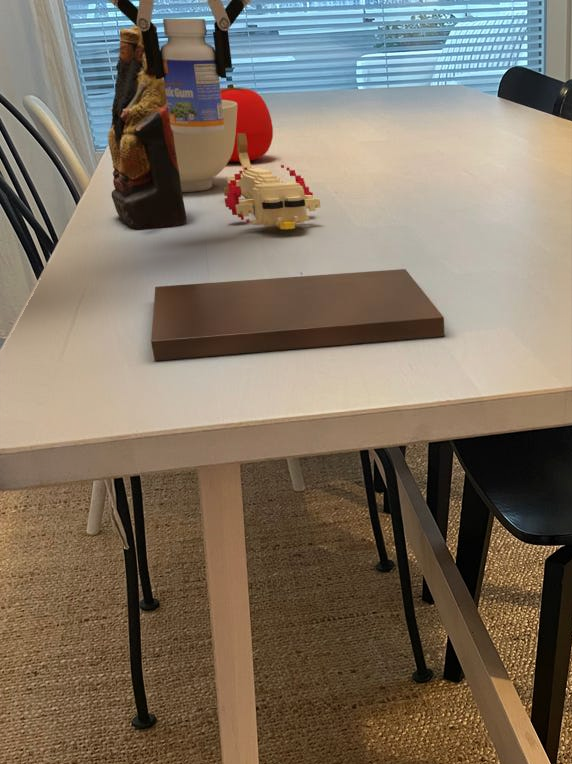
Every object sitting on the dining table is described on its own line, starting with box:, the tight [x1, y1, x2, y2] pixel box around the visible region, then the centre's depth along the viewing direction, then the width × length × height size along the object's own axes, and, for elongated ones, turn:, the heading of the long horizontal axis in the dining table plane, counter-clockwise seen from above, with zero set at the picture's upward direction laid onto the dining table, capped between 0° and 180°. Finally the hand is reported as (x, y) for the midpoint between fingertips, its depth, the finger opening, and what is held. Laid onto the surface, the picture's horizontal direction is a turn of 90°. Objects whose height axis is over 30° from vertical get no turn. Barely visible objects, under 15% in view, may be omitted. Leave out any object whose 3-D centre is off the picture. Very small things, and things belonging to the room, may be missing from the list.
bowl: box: [110, 100, 237, 193], centre depth 131 cm, size 16×16×10 cm
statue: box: [107, 23, 187, 230], centre depth 110 cm, size 12×8×20 cm, turn 22°
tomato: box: [220, 83, 274, 163], centre depth 151 cm, size 12×12×10 cm
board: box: [150, 268, 445, 362], centre depth 81 cm, size 22×16×2 cm
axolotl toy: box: [223, 134, 321, 230], centre depth 115 cm, size 10×9×25 cm
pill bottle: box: [160, 18, 224, 133], centre depth 98 cm, size 5×5×10 cm
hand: (191, 75), depth 98 cm, fingers closed on pill bottle, 5 cm apart
